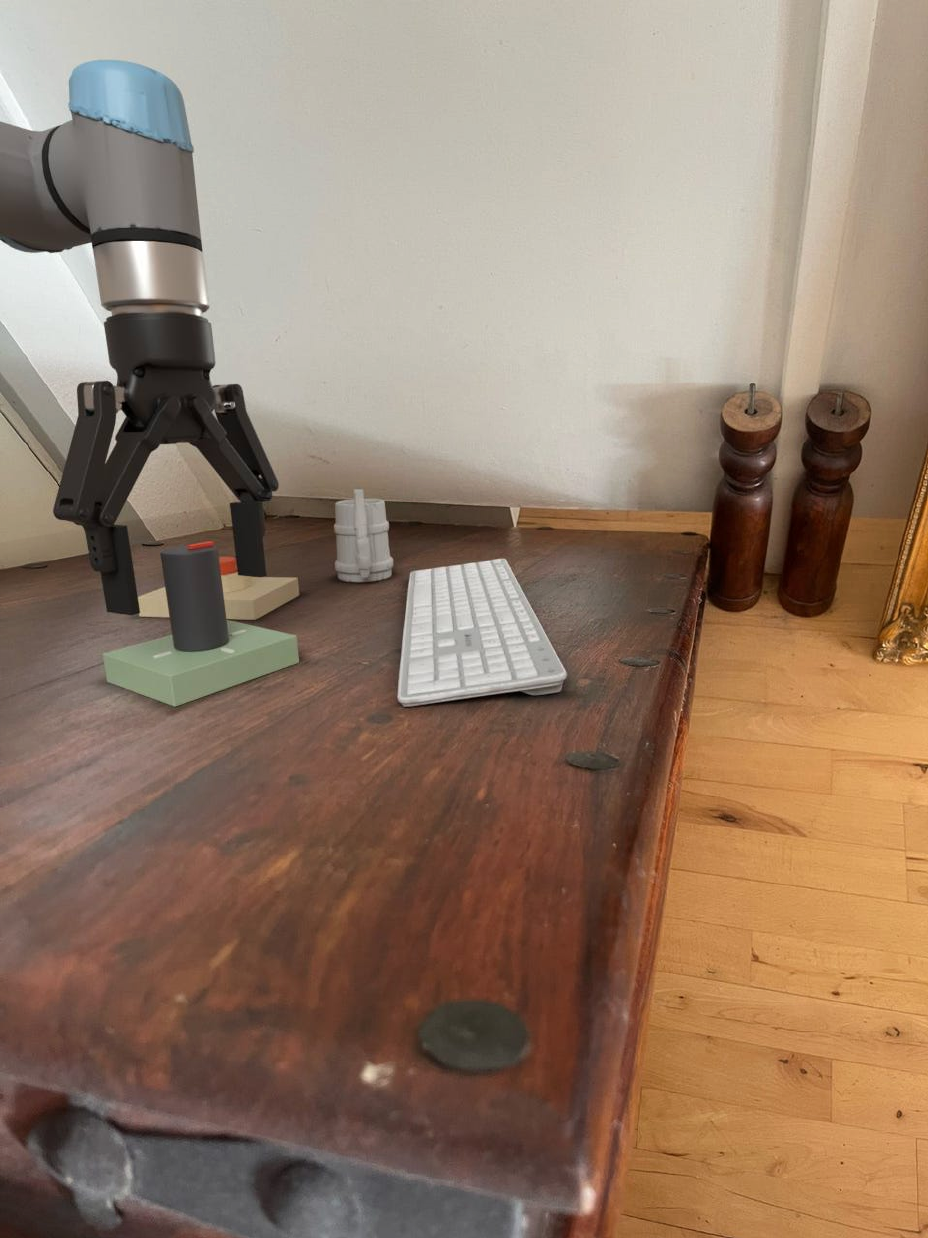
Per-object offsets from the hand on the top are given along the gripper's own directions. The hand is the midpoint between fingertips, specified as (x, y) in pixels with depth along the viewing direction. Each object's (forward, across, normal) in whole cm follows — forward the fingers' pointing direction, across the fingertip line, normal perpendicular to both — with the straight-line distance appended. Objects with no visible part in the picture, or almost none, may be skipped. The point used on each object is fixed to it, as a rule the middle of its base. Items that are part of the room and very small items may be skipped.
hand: (193, 592), depth 61 cm
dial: (+4, 0, 0) cm, 4 cm away
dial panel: (+7, 0, 0) cm, 7 cm away
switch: (+3, -18, -16) cm, 24 cm away
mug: (+7, -35, -8) cm, 37 cm away
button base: (+7, -18, -16) cm, 25 cm away
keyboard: (+7, -21, +14) cm, 27 cm away
